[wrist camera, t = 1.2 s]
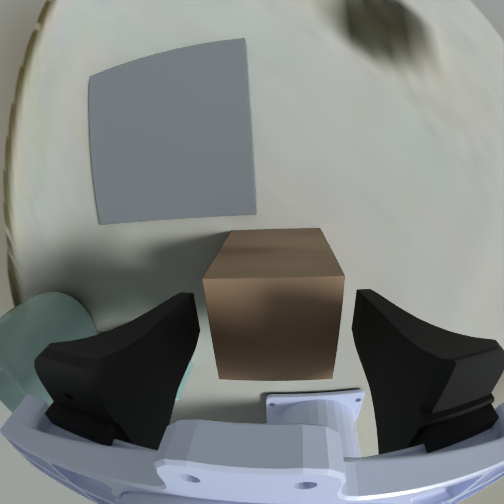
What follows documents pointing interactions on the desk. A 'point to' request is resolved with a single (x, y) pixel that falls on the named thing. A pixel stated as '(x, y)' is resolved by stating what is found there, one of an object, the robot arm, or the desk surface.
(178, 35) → the desk surface
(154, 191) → the slate coaster
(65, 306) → the cup
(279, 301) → the walnut block
